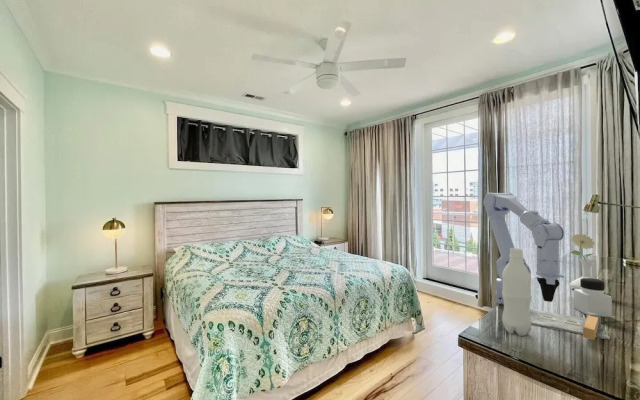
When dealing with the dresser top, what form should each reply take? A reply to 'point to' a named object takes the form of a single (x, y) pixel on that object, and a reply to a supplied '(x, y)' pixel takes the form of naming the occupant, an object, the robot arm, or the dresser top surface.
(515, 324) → the water bottle
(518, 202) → the robot arm
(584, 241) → the flower in vase
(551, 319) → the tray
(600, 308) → the medicine bottle
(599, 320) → the tan piece
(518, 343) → the dresser top surface
